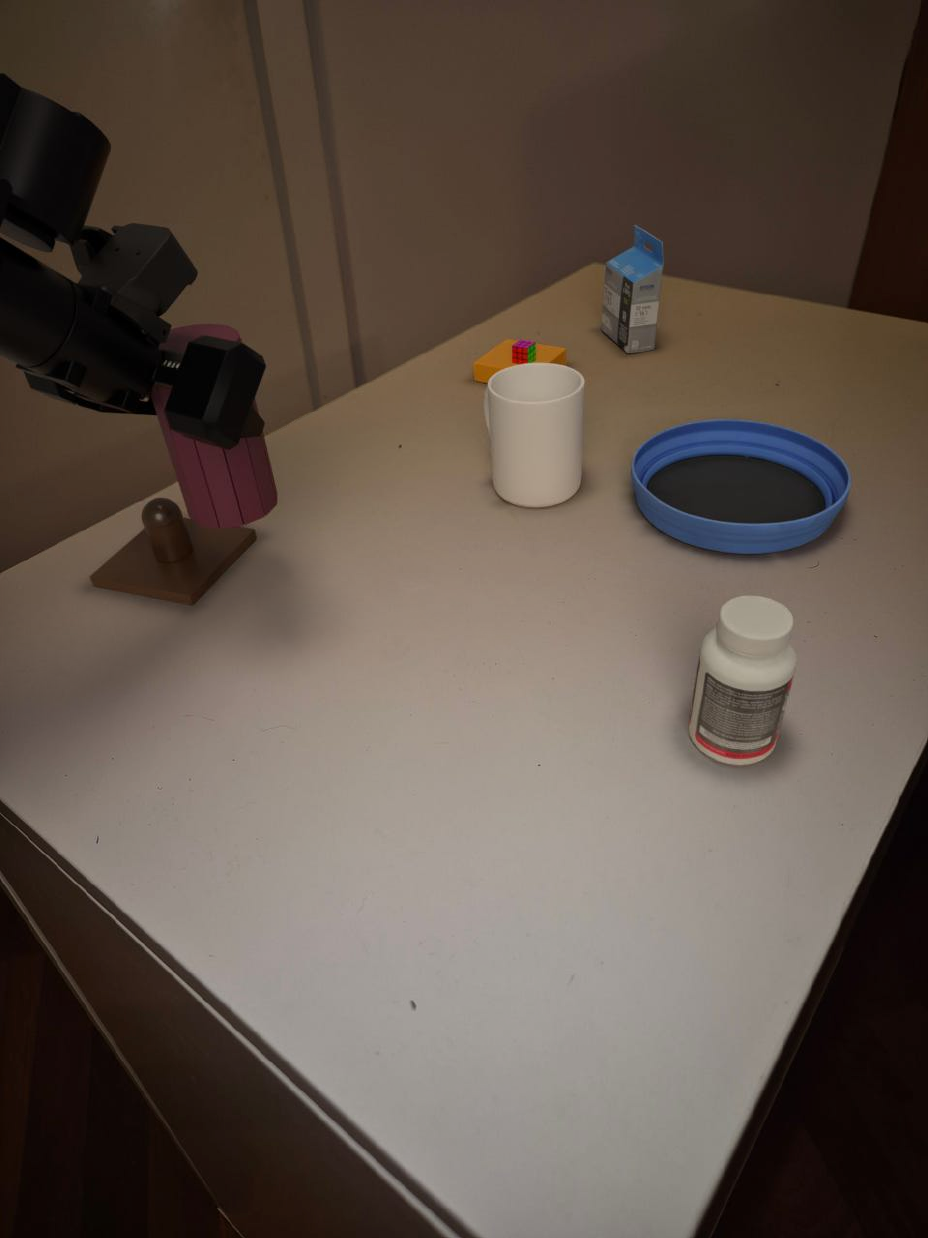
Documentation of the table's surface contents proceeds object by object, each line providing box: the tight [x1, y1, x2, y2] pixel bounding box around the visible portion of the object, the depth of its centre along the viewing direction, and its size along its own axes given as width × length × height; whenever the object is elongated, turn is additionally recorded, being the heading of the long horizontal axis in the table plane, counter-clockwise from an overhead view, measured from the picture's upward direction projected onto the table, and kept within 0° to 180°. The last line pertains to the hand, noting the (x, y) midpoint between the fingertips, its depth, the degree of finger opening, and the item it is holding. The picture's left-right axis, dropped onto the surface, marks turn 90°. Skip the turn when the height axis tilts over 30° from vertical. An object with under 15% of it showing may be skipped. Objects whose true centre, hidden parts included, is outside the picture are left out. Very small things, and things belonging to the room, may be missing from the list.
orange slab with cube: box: [472, 338, 567, 384], centre depth 96 cm, size 8×8×4 cm
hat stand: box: [89, 497, 258, 606], centre depth 70 cm, size 10×10×6 cm
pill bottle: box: [688, 594, 798, 766], centre depth 50 cm, size 5×5×10 cm
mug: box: [482, 363, 586, 509], centre depth 76 cm, size 12×8×10 cm
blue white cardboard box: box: [600, 224, 665, 354], centre depth 100 cm, size 9×4×12 cm, turn 14°
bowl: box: [630, 418, 852, 555], centre depth 72 cm, size 18×18×4 cm
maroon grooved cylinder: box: [151, 323, 278, 529], centre depth 61 cm, size 7×7×13 cm
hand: (225, 419), depth 62 cm, fingers closed on maroon grooved cylinder, 7 cm apart
